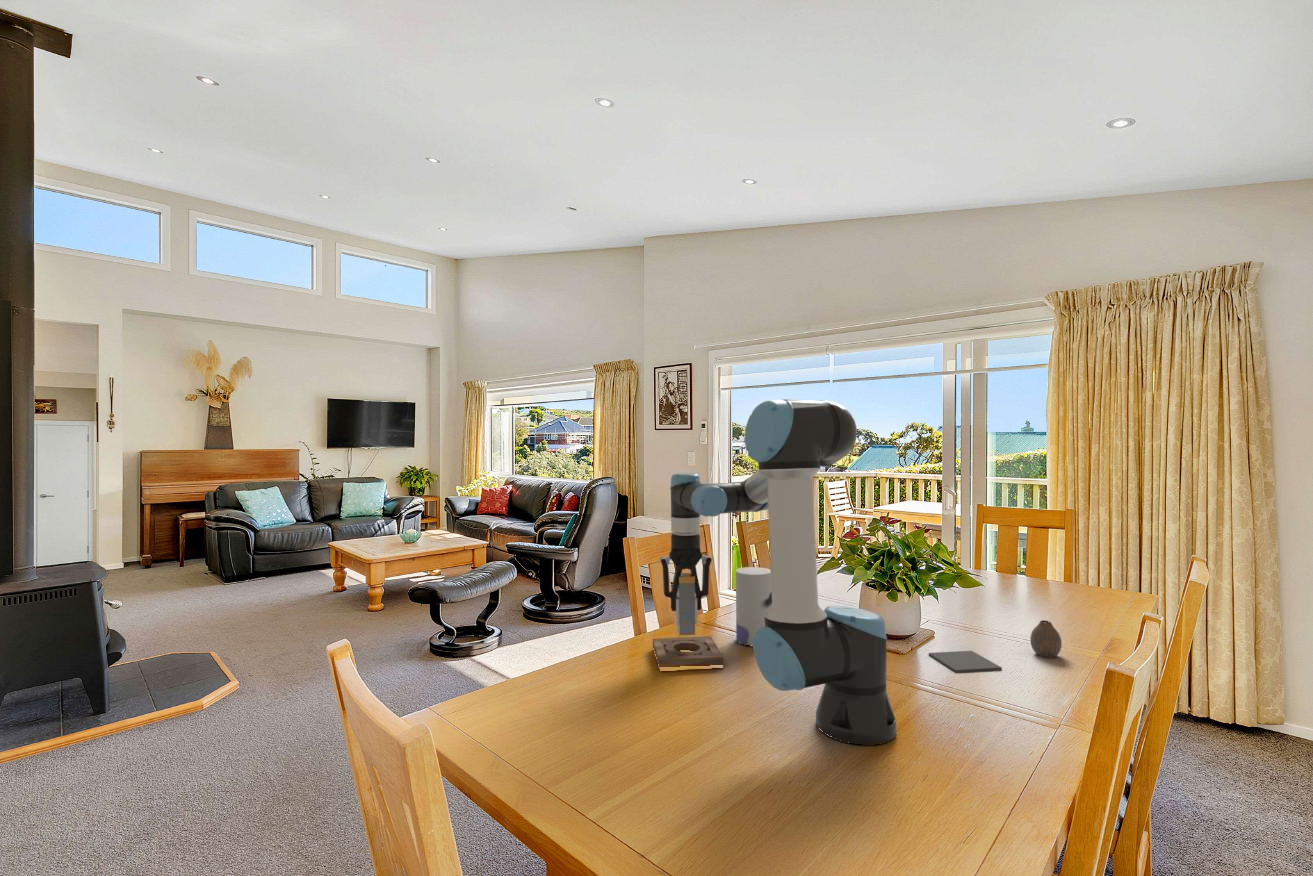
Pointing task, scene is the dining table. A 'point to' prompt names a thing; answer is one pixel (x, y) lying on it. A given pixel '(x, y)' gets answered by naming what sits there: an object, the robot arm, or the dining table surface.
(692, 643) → the block
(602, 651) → the dining table surface
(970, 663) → the pad
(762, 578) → the container
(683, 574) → the key peg
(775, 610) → the robot arm
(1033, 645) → the vase
